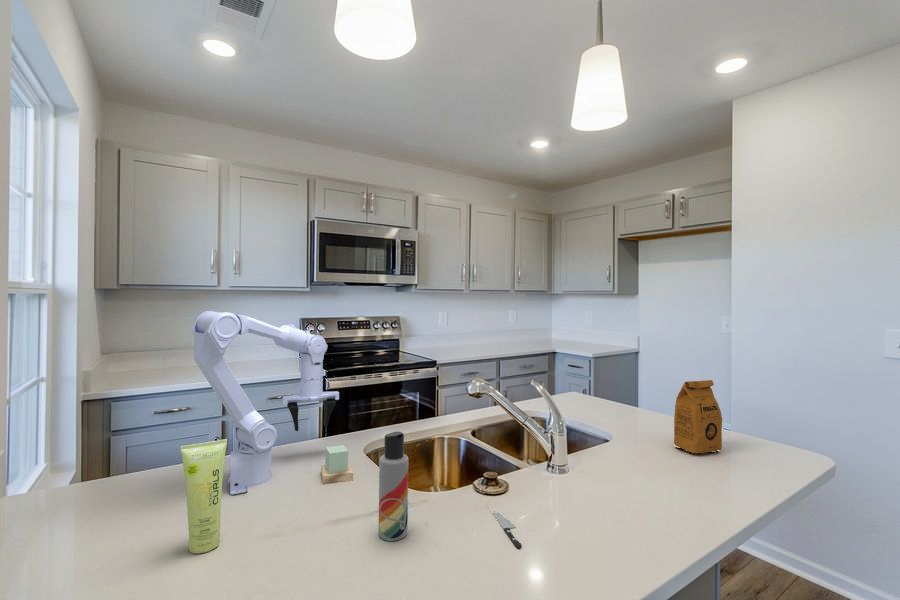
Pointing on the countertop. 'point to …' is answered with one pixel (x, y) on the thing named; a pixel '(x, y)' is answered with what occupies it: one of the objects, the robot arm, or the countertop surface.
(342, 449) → the sage block
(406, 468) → the lotion bottle
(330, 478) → the tower top
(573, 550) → the countertop surface
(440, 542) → the countertop surface
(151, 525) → the countertop surface
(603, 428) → the countertop surface
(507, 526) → the chef's knife
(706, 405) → the coffee package
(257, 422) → the robot arm
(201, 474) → the tube
